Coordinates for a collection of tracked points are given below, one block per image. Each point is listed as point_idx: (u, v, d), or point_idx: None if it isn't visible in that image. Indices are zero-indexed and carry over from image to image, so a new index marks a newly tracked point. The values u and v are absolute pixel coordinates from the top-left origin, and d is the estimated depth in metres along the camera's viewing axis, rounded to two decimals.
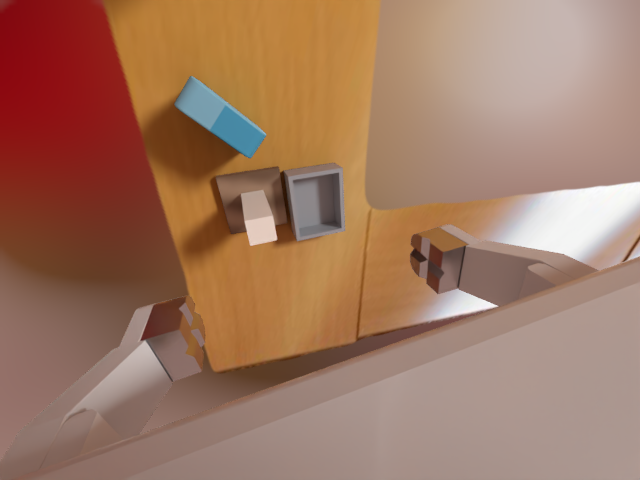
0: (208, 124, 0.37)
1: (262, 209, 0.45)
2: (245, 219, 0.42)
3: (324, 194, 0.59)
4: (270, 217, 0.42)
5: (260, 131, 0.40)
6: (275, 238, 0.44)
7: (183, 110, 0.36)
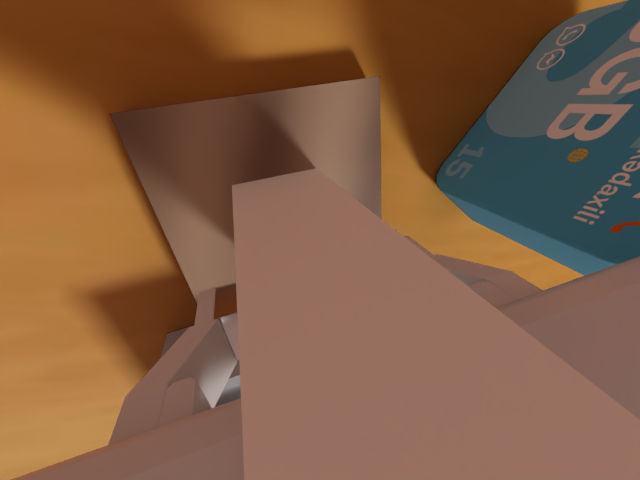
0: None
1: None
2: None
3: None
4: None
5: None
6: None
7: None
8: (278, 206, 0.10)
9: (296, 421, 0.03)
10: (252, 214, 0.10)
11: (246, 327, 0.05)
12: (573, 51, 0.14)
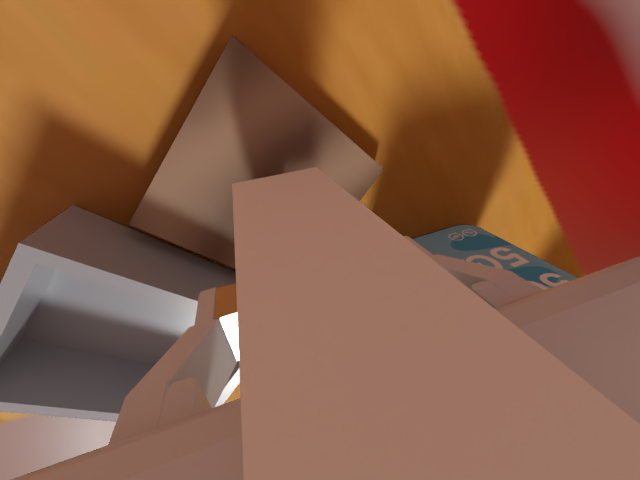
0: None
1: None
2: None
3: (145, 342, 0.21)
4: None
5: None
6: None
7: None
8: (278, 205, 0.10)
9: (295, 420, 0.04)
10: (252, 213, 0.10)
11: (246, 326, 0.05)
12: (467, 240, 0.24)
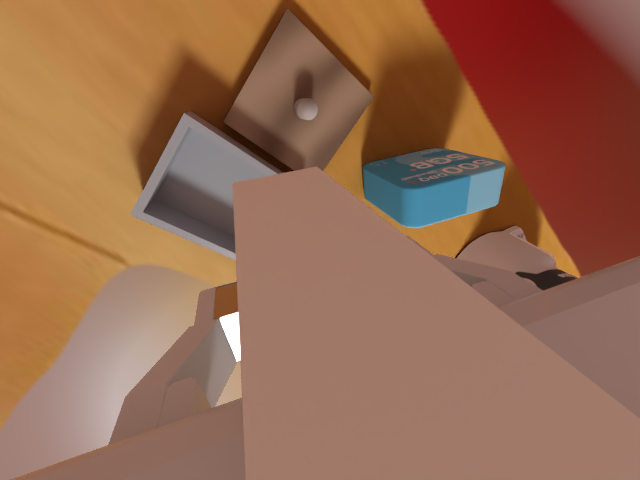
0: (474, 179, 0.27)
1: None
2: None
3: (221, 213, 0.32)
4: None
5: (418, 226, 0.28)
6: None
7: (502, 169, 0.27)
8: (279, 204, 0.10)
9: (298, 418, 0.03)
10: (253, 212, 0.10)
11: (247, 325, 0.05)
12: (433, 153, 0.35)
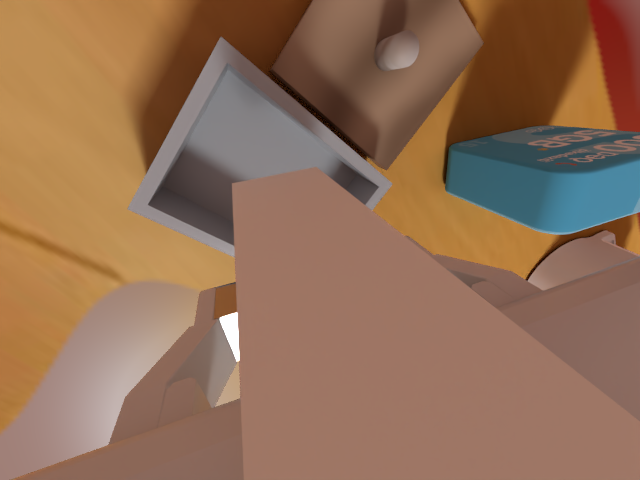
0: None
1: None
2: None
3: None
4: None
5: (568, 232, 0.18)
6: None
7: None
8: (278, 205, 0.10)
9: (296, 421, 0.03)
10: (252, 212, 0.10)
11: (246, 326, 0.05)
12: (546, 131, 0.25)
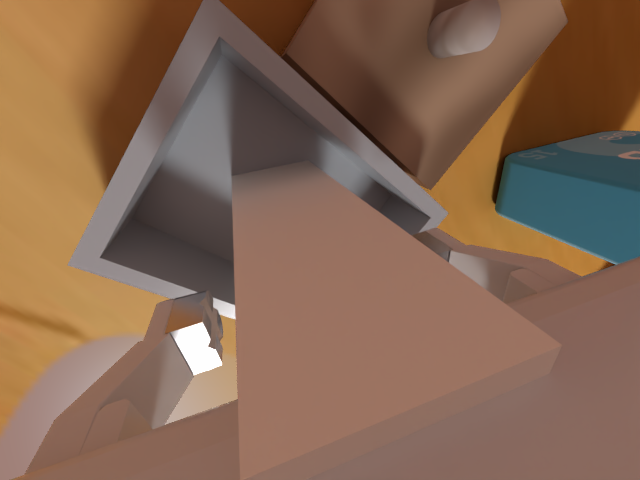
0: None
1: None
2: None
3: None
4: None
5: None
6: None
7: None
8: (271, 190, 0.11)
9: (274, 321, 0.05)
10: (248, 197, 0.11)
11: (240, 272, 0.06)
12: (629, 138, 0.20)
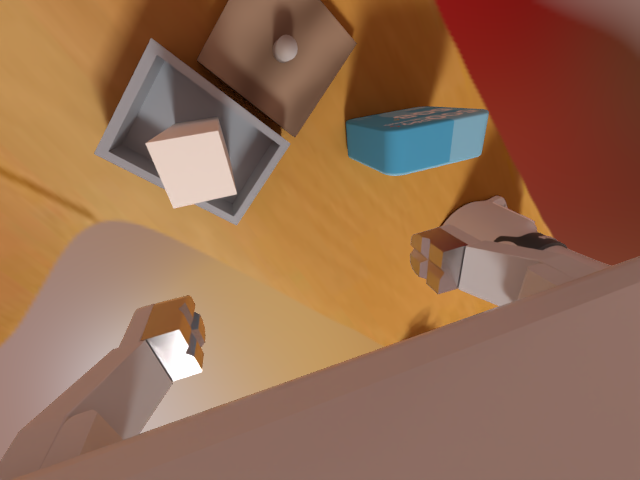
0: (458, 124, 0.26)
1: (230, 166, 0.22)
2: None
3: None
4: (231, 189, 0.19)
5: (401, 173, 0.27)
6: (177, 203, 0.19)
7: (485, 115, 0.27)
8: (188, 124, 0.25)
9: (163, 136, 0.18)
10: (176, 126, 0.25)
11: (159, 134, 0.20)
12: (417, 109, 0.34)
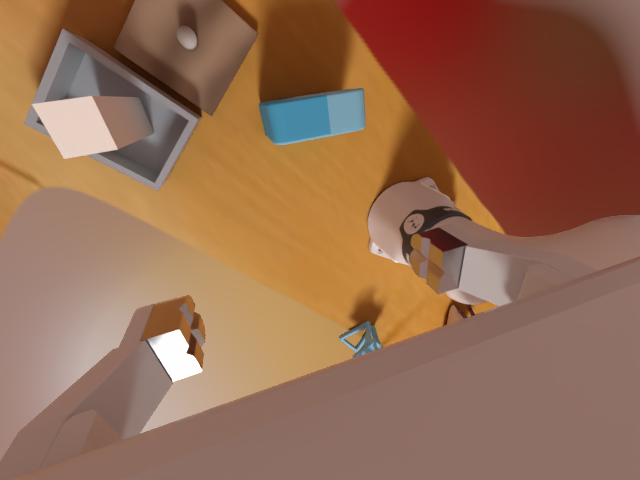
0: (331, 100, 0.31)
1: (124, 131, 0.27)
2: (95, 98, 0.23)
3: None
4: (112, 145, 0.25)
5: (285, 142, 0.32)
6: (66, 155, 0.24)
7: (357, 92, 0.31)
8: None
9: None
10: None
11: None
12: (323, 92, 0.39)
